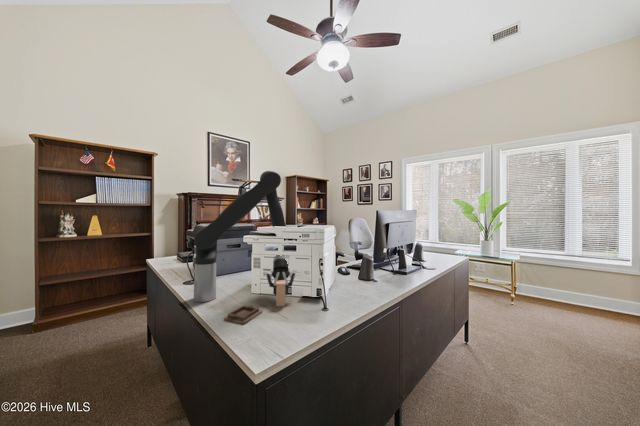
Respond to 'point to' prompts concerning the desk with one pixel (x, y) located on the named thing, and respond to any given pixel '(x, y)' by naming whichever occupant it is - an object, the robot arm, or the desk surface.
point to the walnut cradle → (243, 314)
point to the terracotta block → (280, 293)
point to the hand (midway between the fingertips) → (280, 294)
